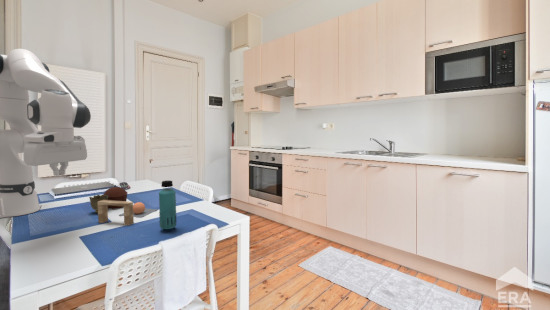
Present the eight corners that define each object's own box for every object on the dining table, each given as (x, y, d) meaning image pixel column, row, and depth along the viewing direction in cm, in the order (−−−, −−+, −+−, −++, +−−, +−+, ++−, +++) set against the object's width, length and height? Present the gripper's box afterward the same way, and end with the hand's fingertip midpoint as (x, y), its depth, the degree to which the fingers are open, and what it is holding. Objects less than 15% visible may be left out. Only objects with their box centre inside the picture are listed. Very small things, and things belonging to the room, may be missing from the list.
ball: (140, 205, 129) (135, 215, 126) (132, 200, 125) (127, 210, 122) (149, 205, 128) (144, 216, 125) (142, 200, 124) (137, 211, 120)
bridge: (128, 225, 110) (127, 203, 109) (98, 222, 112) (97, 201, 112) (133, 222, 113) (132, 201, 112) (104, 220, 115) (103, 199, 115)
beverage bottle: (166, 234, 101) (165, 183, 99) (155, 230, 105) (154, 181, 103) (180, 229, 107) (179, 180, 105) (169, 225, 110) (168, 178, 108)
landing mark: (118, 215, 122) (118, 215, 122) (136, 208, 134) (136, 207, 134) (141, 217, 120) (141, 217, 120) (157, 209, 132) (157, 209, 132)
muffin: (104, 204, 139) (104, 186, 138) (128, 202, 144) (128, 184, 143) (100, 211, 128) (100, 191, 127) (126, 208, 133) (126, 189, 132)
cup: (99, 215, 122) (98, 198, 121) (86, 214, 123) (85, 197, 122) (112, 210, 129) (111, 194, 128) (99, 209, 130) (99, 193, 130)
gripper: (77, 135, 103) (78, 170, 105) (18, 136, 83) (20, 179, 85) (91, 136, 102) (91, 171, 104) (35, 137, 82) (37, 181, 84)
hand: (59, 175), depth 94 cm, fingers closed
